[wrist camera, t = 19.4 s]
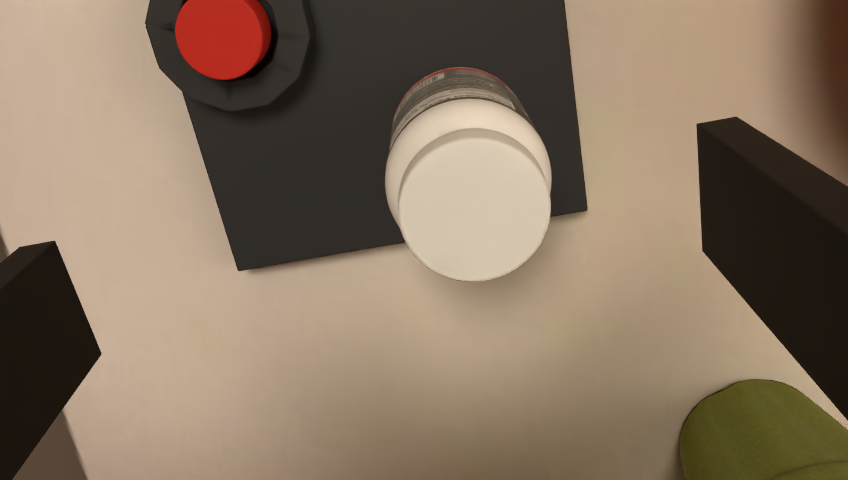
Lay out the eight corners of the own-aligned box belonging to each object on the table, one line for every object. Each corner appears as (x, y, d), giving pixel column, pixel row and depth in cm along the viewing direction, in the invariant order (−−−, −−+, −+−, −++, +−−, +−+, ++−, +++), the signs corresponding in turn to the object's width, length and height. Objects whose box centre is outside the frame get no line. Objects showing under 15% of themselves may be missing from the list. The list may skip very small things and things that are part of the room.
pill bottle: (520, 198, 33) (557, 303, 24) (390, 194, 33) (378, 298, 24) (532, 65, 31) (578, 125, 22) (392, 61, 31) (380, 119, 22)
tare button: (202, 78, 30) (189, 87, 28) (177, -5, 29) (163, -1, 27) (280, 63, 30) (272, 71, 28) (259, -21, 29) (249, -18, 27)
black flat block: (243, 259, 36) (228, 287, 33) (151, -41, 31) (124, -37, 28) (581, 200, 35) (595, 224, 32) (545, -122, 30) (557, -126, 27)
